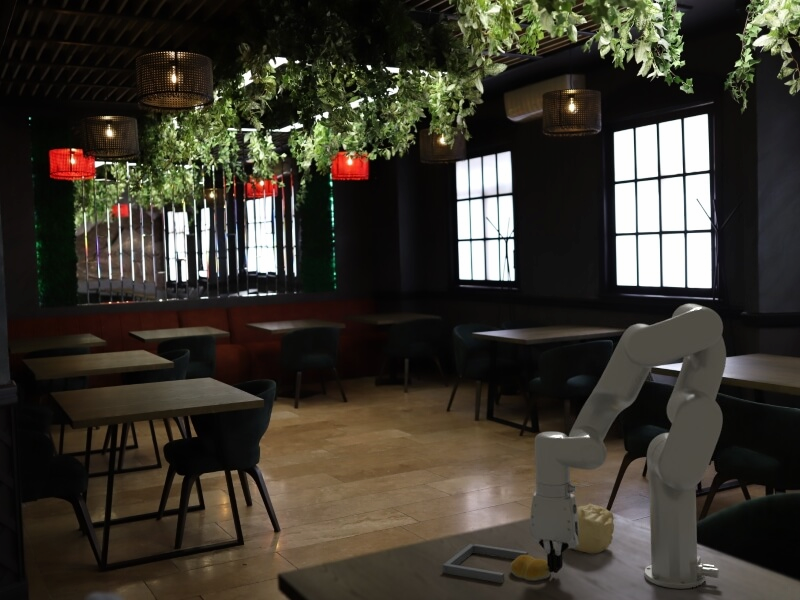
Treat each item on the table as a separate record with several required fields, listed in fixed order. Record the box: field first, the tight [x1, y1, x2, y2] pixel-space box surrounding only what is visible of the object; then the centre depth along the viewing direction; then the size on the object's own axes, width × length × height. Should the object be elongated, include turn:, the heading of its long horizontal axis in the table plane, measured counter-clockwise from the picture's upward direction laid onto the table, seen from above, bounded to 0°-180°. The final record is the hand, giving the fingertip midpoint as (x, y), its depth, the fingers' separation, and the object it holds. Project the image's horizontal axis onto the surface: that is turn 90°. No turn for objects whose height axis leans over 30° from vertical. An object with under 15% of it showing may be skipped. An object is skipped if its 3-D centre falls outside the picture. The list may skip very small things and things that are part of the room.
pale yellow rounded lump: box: [572, 503, 615, 554], centre depth 200 cm, size 12×12×11 cm
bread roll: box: [509, 554, 552, 582], centre depth 186 cm, size 8×9×4 cm
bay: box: [442, 543, 529, 584], centre depth 192 cm, size 15×15×2 cm
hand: (555, 570), depth 183 cm, fingers closed
